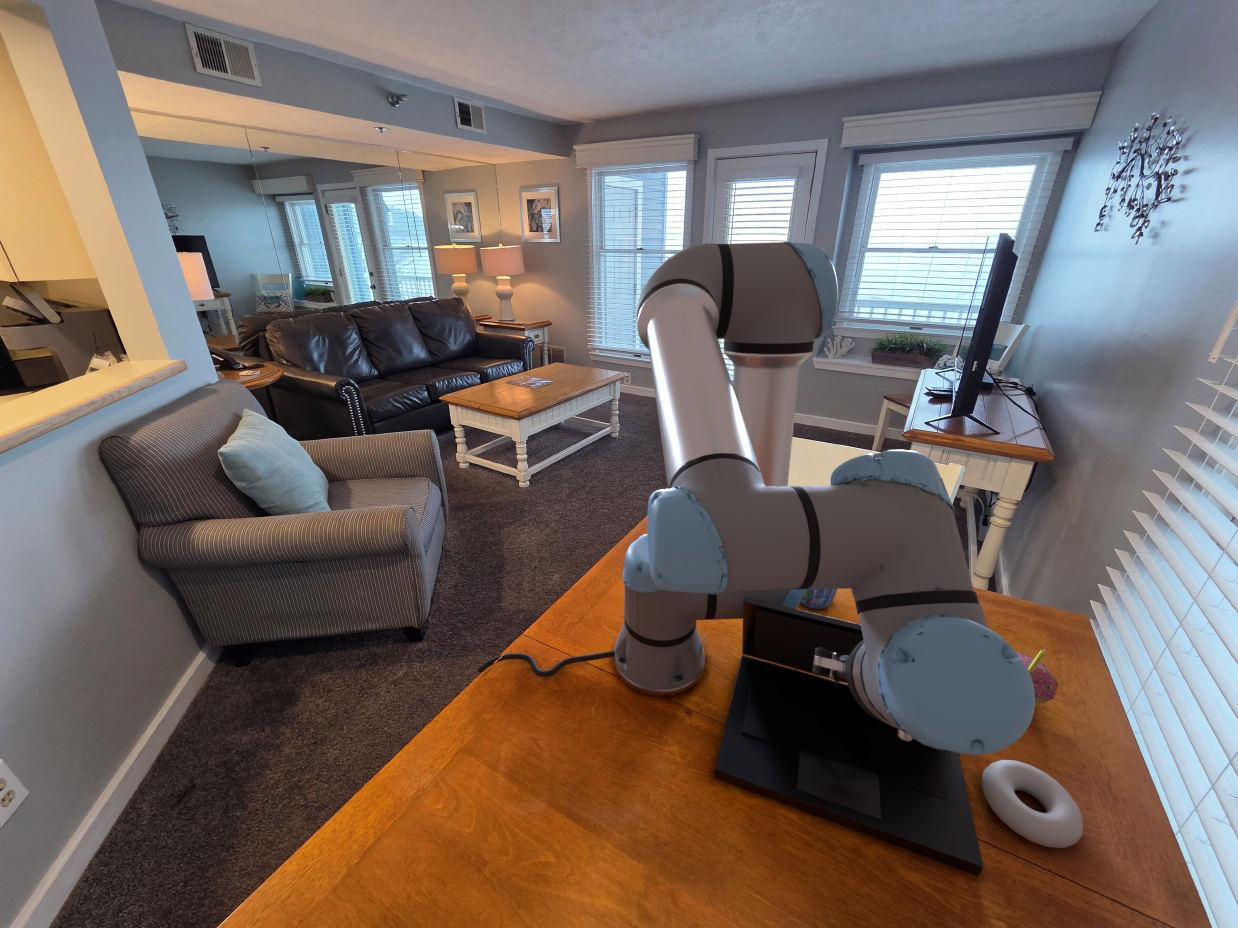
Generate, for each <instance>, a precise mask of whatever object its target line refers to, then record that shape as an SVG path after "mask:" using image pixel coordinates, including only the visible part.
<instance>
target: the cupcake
mask: <svg viewBox="0 0 1238 928" xmlns="http://www.w3.org/2000/svg"><path fill="white" fill-rule="evenodd" d="M1046 651H1047V648H1045V649H1043V650H1042V649H1041V650H1040V651H1038V653H1037V655H1036V657H1034V658H1033V657H1031V656H1029V655H1027V654H1025V653H1021V652H1017V651H1015V652H1016V653H1017V654H1018V655H1019V656H1020V658H1021V659H1022V661H1023V662H1024V663H1025V665H1026V667H1027V669H1028V671H1029V674H1030V676H1031V679H1032V682H1033V686H1034V692H1035V706H1037V705H1038V704H1045V703H1047V702H1050V701H1053V700H1054V699H1055V698H1056V695H1057V690H1058V687H1059V683H1058V681H1057V678H1056V677H1055V675H1054V674H1053V673H1052V672H1051V671H1050V670H1049V668H1047V667H1046V665H1044V663H1041V661H1042V660H1043V658H1045V656H1046V654H1047V653H1046Z"/></svg>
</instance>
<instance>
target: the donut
mask: <svg viewBox="0 0 1238 928" xmlns="http://www.w3.org/2000/svg"><path fill="white" fill-rule="evenodd" d="M980 784H981V788H982V792H983V793H982V794H983V796H984V798H985V800H986V802H987V803H988V805H989V807H990V809H991V810H992V811H993V812H994V813H995V815H996V816H997V817H998V818H999V819H1000V820H1001V822H1002V823H1004V824H1005V825H1007V826H1008V828H1009V829H1011V830H1012V831H1013V832H1014V833H1016V834H1018V835H1019V836H1020V837H1023V838H1024V839H1026V840H1028V841H1029V842H1031V843H1034V844H1037V845H1040V846H1043V847H1046V848H1053V849H1054V848H1056V849H1064V848H1068V847H1071V846H1075V844H1077V843H1078V842H1079V840H1080V839H1081V838H1082V836H1083V835H1084V822H1085V821H1084V818H1083V815H1082V813H1081V810H1080V807H1079V805H1078V803H1076V801H1075V799H1074V798H1073V796H1072V795H1071V794H1070V792H1069V791H1068V790H1067V789H1065V788H1064V787H1063V786H1062V784H1060V783H1059V782H1058V781H1057V780H1056V779H1055V778H1053V777H1051V775H1049V774H1047V773H1046V772H1045V771H1043V770H1041V769H1039V768H1037V767H1035V766H1033V765H1031V764H1029V763H1025V762H1021V761H1019V760H1013V759H1012V760H1011V759H1001V760H997V761H994V762H991V763H990V764H989V765H988V766H987V767H986V768H985V769H984V770H983V772H982V777H981V783H980ZM1015 791H1021V792H1024V793H1026V794H1029V795H1030V796H1032V797H1034V798H1035V799H1036V800H1037V801H1038V802H1039V803H1040V804H1041V805H1042V806H1043V807H1044V809H1045V812H1040V811H1037V810H1035V809H1032V808H1030V807H1029V806H1027V805H1026V804H1025V803H1024V802H1022V800H1021V799H1020V798H1019V797H1018V795H1017V794H1016V793H1015Z"/></svg>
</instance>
